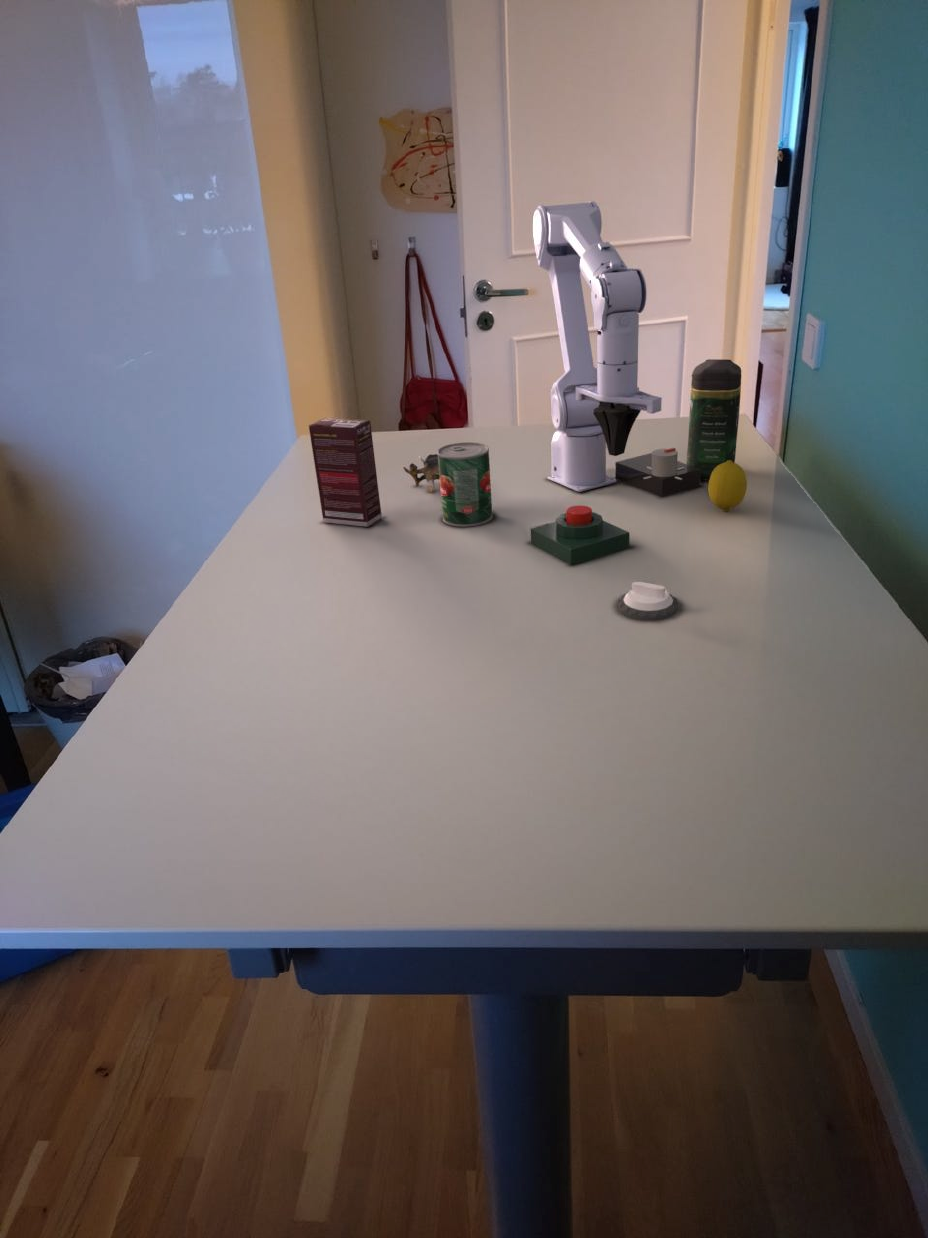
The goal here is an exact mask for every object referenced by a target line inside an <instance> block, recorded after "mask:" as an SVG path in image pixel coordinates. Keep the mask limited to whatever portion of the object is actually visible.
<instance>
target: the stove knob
mask: <svg viewBox="0 0 928 1238" xmlns="http://www.w3.org/2000/svg"><path fill="white" fill-rule="evenodd" d="M617 602H618V603H617V610H618V612H619V613H620V614H621V615H623V616H625V617H627V618H628V619H629V618H630V619H632V620H638V621H643V622H644V621H645V622H655V621H662V620H667V619H670V618H671V617H673V616H675V615H676V614H677V613H678V612H679V609H680V607H679V602H678V599H677V598H676V597H675V596H673V595H672V594H671V593H669V592H668V591H667V590H666V587H665V586H664V585H659V584H655V583H648V582H642V581H633V582H632V583H631V589H630V590H628V592H627V593H624V594H623V595H621V596H620V598H619V599H618V601H617Z"/></svg>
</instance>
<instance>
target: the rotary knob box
mask: <svg viewBox="0 0 928 1238" xmlns="http://www.w3.org/2000/svg"><path fill="white" fill-rule="evenodd" d="M614 469H615V470H614V471H615V473H614V474H615V475H614V476H615V478H614V479H616V480H617V481H619V482H622V483H624V484H627V485H630V486H631V487H635V488H638V489H641V490H643V491H645V492H648V493H650V494H652V495H656V496H658V497H660V498H664V497H668V496H671V495H675V494H679V493H682V492H685V491H688V490H692V489H696V488H700V487H701V479H700V476H701V469H699V468H696V467H693V466H690V465H687V463H684V462H682V461H678V460H677V474H676V475H674V476H671V477H657V476H654V475H652V473H651V469H652V452H651V453H650V452H649V453H646V454H642V455H638V456H635V457H631V458H626V459H623V460H622V459H621V460H618V461H615V468H614Z"/></svg>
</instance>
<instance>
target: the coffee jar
mask: <svg viewBox="0 0 928 1238" xmlns="http://www.w3.org/2000/svg"><path fill="white" fill-rule="evenodd" d="M690 384H691V385H690V399H689V417H688V419H689V421H688V439H687V451H686V464H687V465H690V466H693V467H696V468H699V469H701V476H700V480H702V481H709V479H710V476H711V474H712V472H713V470H714V469H715V468H716V467H717V466H718V465H720V464H722V463H725V462H726V461H727V460H731V461H732V462H733V463H735V462H736V451H737V440H738V431H739V430H738V429H739V420H740V409H741V394H742V393H741V392H742V368H741V367H740V365H738V364H737V363H735V362H734V361H732V359H726V358H725V359H723V358H722V359H718V358H717V359H716V358H715V359H714V358H713V359H711V358H710V359H706V360H705V361H703V362H702V363H699V364H698V365H696V366H695V367H694V369H693V370H692V374H691V383H690Z"/></svg>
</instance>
